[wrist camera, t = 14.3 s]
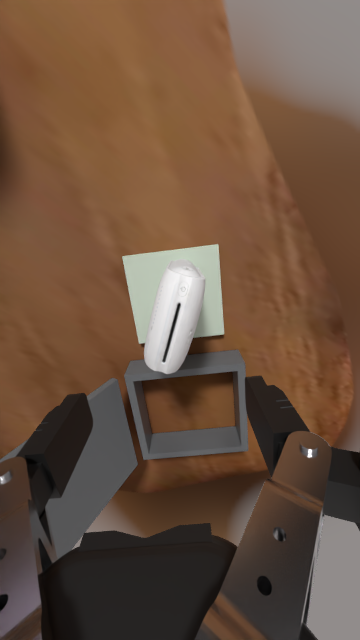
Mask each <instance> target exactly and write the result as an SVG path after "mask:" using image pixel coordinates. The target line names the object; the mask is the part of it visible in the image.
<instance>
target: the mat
mask: <svg viewBox="0 0 360 640" xmlns="http://www.w3.org/2000/svg"><path fill="white" fill-rule="evenodd" d="M122 258H123V263H124V268H125V274H126V279H127V284H128V289H129V294H130V299H131V304H132V309H133V315H134V320H135V325H136V330H137V335H138V340H139V344H140V343H145V342H146V337H147V332H148V327H149V322H150V318H151V314H152V310H153V306H154V302H155V298H156V294H157V291H158V287H159V284H160V281H161V278H162V276H163V273H164V271H165V269H166V267H167V266H168V264H169V262H170V261H171V260H173V261H175V260H178V259H186V260H189V261H190V262H192V263H193V264H194V266H195V267H198V268H199V269H200V271H201V272H202V274H203V275H204V277H205V293H204V298H203V304H202V308H201V312H200V316H199V319H198V323H197V326H196V330H195V333H194V336H193V338H195V337H205V336H214V335H223V334H224V324H223V309H222V294H221V278H220V263H219V248H218V244H216V245H208V246H200V247H192V248H184V249H176V250H168V251H160V252H153V253H145V254H137V255H129V256H123V257H122Z"/></svg>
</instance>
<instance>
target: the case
mask: <svg viewBox="0 0 360 640" xmlns="http://www.w3.org/2000/svg"><path fill="white" fill-rule="evenodd" d="M231 371H232V372H233V390H234V408H235V426H233V427H222V428H210V429H199V430H188V431H177V432H166V433H155V434H152V431H151V427H150V422H149V417H148V412H147V407H146V402H145V397H144V392H143V387H142V382H141V381H142V380H152V379H162V378H172V377H182V376H192V375H202V374H212V373H221V372H231ZM124 377H125V381H126V386H127V390H128V394H129V399H130V403H131V407H132V412H133V416H134V421H135V425H136V429H137V434H138V438H139V442H140V447H141V451H142V455H143V460H147V459H159V458H170V457H182V456H194V455H206V454H217V453H229V452H241V451H248V432H247V411H246V404H245V377H246V375H245V362H244V360H243V358H242V356H241V354H240V352H239V350H230V351H221V352H211V353H202V354H192V355H186V358H185V360H184V362H183V363H182V365H181V366H180V368H179V369H178V370H177V371H176V372H174V373H171V374H165V373H163V372H159V371H154V370H152V369H150V368H149V367H148V366H147V365H146V363H145V360H135V361H130V363H129V366H128V368H127V370H126V373H125V375H124Z"/></svg>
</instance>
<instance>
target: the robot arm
mask: <svg viewBox="0 0 360 640" xmlns="http://www.w3.org/2000/svg"><path fill="white" fill-rule="evenodd" d="M245 404H246V411H247V415H248V418H249V420H250V423H251V426H252V428H253V431H254V433H255V436H256V439H257V441H258V444H259V447H260V449H261V452H262V454H263V457H264V460H265V462H266V465H267V467H268V470H269V473H270V475H271V480H270V479H267V480H266V481H265V483H264V485H263V487H262V490H261V492H260V494H259V497H258V499H257V502H256V504H255V506H254V509H253V511H252V514H251V516H250V519H249V521H248V523H247V526H246V528H245V531H244V533H243V536H242V538H241V540H240V543H239V545H238V547H237V546H236V545H234V544H233V543H231V542H229V541H228V540H225V539H223V538H220V537H218V536H214V535H211V527H210V523H204V524H192V525H179V526H176V527H174V528H171V529H168V530H166V531H163V532H161V533H158V534H156V535H153V536H150V537H148V538H141V537H138V536H134V535H130V534H126V533H122V532H117V531H103V532H90V533H84V535H83V538H82V541H81V544H80V547H77V548H75V549H73V550H71V551H69V552H68V553H66V554H65V555H63V556H62V557H60V558H59V559H58V557H57V554H56V549H55V545H54V540H53V535H52V530H51V525H50V520H49V516H48V511H47V508H46V505H47V503H48V501H49V499H54V498H61V497H62V495H63V493H64V491H65V488H66V486H67V484H68V482H69V480H70V477H71V475H72V473H73V471H74V469H75V466H76V464H77V462H78V460H79V458H80V456H81V453H82V451H83V449H84V447H85V445H86V442H87V440H88V438H89V436H90V434H91V431H92V428H93V417H92V413H91V410H90V407H89V403H88V400H87V397H86V395H85V394H84V393H79V394H69V395H67V396H66V398H65V399H64V400H63V402H62V403H61V405H60V406H57V407H55V408H54V409H53V410H52V411H50V412H49V413H48V414H47V415H46V417H45V418H44V419H43V421H42V422H41V424H40V425H39V426H38V427H37V429H36V431H34V433H33V434H32V435H31V437H30V438H29V439H28V441H27V442H26V443H25V445H24V446H23V447H22V449H21V450H20V451H19V453H18V454H17V455H16V457H13V458H10V459H7V460H5V461H3V462H1V463H0V640H318V639H317V638H316V637H315V636H314V634H313V633H312V632H311V631H310V630H309V629H308V627H307V621H308V615H309V609H310V603H311V597H312V590H313V584H314V577H315V570H316V563H317V557H318V551H319V545H320V539H321V533H322V527H323V521H324V515H328V516H331V517H335V518H339V519H343V520H347V521H351V522H355V523H356V525H357V526H358V528H359V530H360V453H358V452H353V451H347V450H342V449H337V448H333V447H330V446H329V444H328V443H327V442H326V441H325V440H324V439H323V438H321V437H320V436H318V435H316V434H314V433H311V432H310V431H309V429H308V428H307V426H306V425H305V423H304V422H303V420H302V419H301V417H300V416H299V414H298V413H297V411H296V410H295V408H294V407H293V406H292V404H291V403H290V401H288V398H287V397H286V395H285V394H284V392H283V391H282V390H280V389H279V388H277V387H276V386H275V385H269V386H267V385H266V383H265V381H264V380H263V378H262V376H252V377H245Z"/></svg>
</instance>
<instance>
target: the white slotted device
mask: <svg viewBox="0 0 360 640" xmlns="http://www.w3.org/2000/svg"><path fill="white" fill-rule="evenodd" d="M204 293H205V277H204V275H203V274H202V272H201V271H200V269H199V268H198V267H195V266H194V264H193V263H192V262H190V261H189V260H186V259H178V260H175V261H173V260H171V261H170V262H169V264H168V266H167V267H166V269H165V271H164V273H163V276H162V278H161V281H160V284H159V287H158V291H157V294H156V298H155V302H154V306H153V310H152V314H151V318H150V322H149V327H148V332H147V337H146V342H145V348H144V359H145V363H146V365H147V366H148V367H149V368H150V369H152V370H154V371H159V372H163V373H165V374H171V373H174V372H176V371H177V370H178V369H179V368H180V366H181V365H182V363H183V362H184V360H185V358H186V355H187V353H188V350H189V347H190V345H191V342H192V339H193V336H194V333H195V330H196V326H197V323H198V319H199V316H200V312H201V308H202V304H203V298H204Z"/></svg>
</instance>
